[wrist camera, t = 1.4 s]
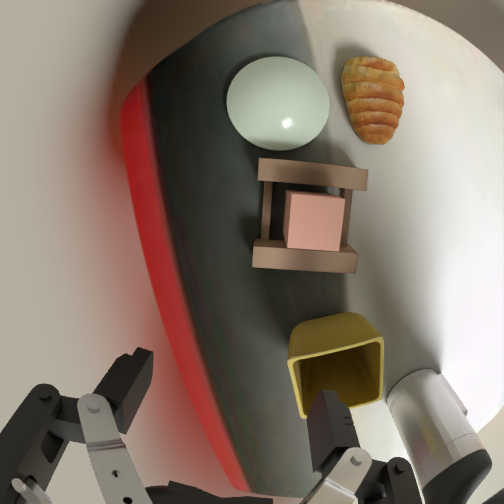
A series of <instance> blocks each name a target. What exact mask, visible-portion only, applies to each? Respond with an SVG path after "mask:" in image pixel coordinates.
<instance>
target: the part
mask: <svg viewBox="0 0 504 504" xmlns="http://www.w3.org/2000/svg"><path fill="white" fill-rule="evenodd" d="M344 206H345V199H343V198H341V197H338V196H335V195H332V194H329V193H320V192H309V191H298V190H287V189H286V198H285V211H284V223H283V235H284V239H285V242H286V245H287V248H297V249H311V250H325V251H339V247H340V240H341V232H342V224H343V215H344Z"/></svg>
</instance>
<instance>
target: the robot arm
mask: <svg viewBox="0 0 504 504" xmlns="http://www.w3.org/2000/svg"><path fill="white" fill-rule="evenodd" d="M152 371H153V352H152V351H149V350H146V349H143V348H140V347H138V348H137V349H136V350H135V352H134V353H133V355H132V356H131V355H128V354H126V353H125V354H124V355H122V356H120V357H118V358H117V359H116V360H115V362H114V363H113V365H112V367H110V369H109V370H108V372H107V373H106V374H105V376H104V377H103V379H102V380H101V382H100V383H99V384H98V386H97V388H96V389H95V390H94V392H93V393H92V394H86V395H84V396H82V397H81V398H71V397H66V396H61V395H60V394H59V391H58V390H57V389H56V388H55V387H54V386H52V385H49V384H39V385H37V386H35V387H34V388H33V389H32V390H31V391H30V393H29V394H28V396H27V397H26V398H25V399H24V401H23V402H22V403H21V405H20V406H19V408H18V409H17V410H16V412H15V413H14V415H13V416H12V417H11V419H10V420H9V422H8V423H7V424H6V426H5V427H4V429H3V430H2V432H1V433H0V504H52V502H51V500H50V498H49V497H48V496H47V494H45V491H46V488H47V486H48V484H49V482H50V480H51V477H52V475H53V473H54V471H55V469H56V467H57V465H58V463H59V461H60V459H61V457H62V455H63V453H64V451H65V449H66V446H67V445H68V443H69V441H73V442H79V443H84V444H87V450H88V454H89V457H90V460H91V464H92V467H93V470H94V473H95V476H96V478H97V481H98V484H99V487H100V489H101V492H102V495H103V497H104V499H105V502H106V504H273V499H271V498H259V497H249V496H247V497H246V496H245V497H231V498H221V497H217V496H215V495H212V494H210V493H208V492H205V491H203V490H201V489H198V488H196V487H192V486H188V485H184V484H180V483H177V482H173V481H169V484H168V486H164V485H162V486H150V487H145V488H144V486H143V484H142V482H141V480H140V478H139V475H138V473H137V471H136V469H135V467H134V464H133V462H132V460H131V458H130V455H129V453H128V450H127V448H126V446H125V444H124V442H122V439H121V437H120V434H119V432H120V433H123V434H126V433H127V431H128V429H129V427H130V425H131V423H132V421H133V419H134V417H135V415H136V412H137V410H138V408H139V406H140V404H141V402H142V400H143V398H144V396H145V394H146V392H147V390H148V388H149V386H150V383H151V379H152V373H153V372H152ZM387 405H388V408H389V410H390V413H391V415H392V417H393V419H394V422H395V424H396V427H397V429H398V431H399V434H400V436H401V439H402V441H403V444H404V446H405V448H406V451H407V453H408V456H409V458H410V461H411V464H412V466H413V469H414V471H415V474H416V477H417V479H418V482H419V485H420V487H421V490H422V493H423V496H424V499H425V504H466V503H467V501H468V499H469V498H470V496H471V495H472V493H473V492H474V491H475V489H476V488H477V487H478V485H479V484H480V483H481V482H482V481H483V480H484V478H485V477H486V476H487V475H488V473H489V471H490V470H491V467H492V461H491V458H490V456H489V454H488V453H487V451H486V450H485V448H484V446H483V444H482V443H481V441H480V439H479V438H478V436H477V434H476V433H475V431H474V430H473V428H472V426H471V425H470V423H469V421H468V420H467V418H466V415H467V409H466V408H465V406H464V405H463V403H462V402H461V400H460V399H459V397H458V396H457V394H456V393H455V392H454V390H453V389H452V387H451V386H450V384H449V383H448V382H447V380H446V379H445V377H444V376H443V375H442V374H437V373H436V372H435V371H434V370H431V369H421V370H418V371H415V372H413V373H411V374H409V375H407V376H406V377H404V378H403V379H402V380H400V381H399V382H398V383H397V384H396V385H395V386H394V388H393V389H392V390H391V392H390V393H389V395H388V398H387ZM353 424H354V423H353V420H352V416H351V413H350V410H349V408H348V407H347V406H346V404H345V403H344V402H339V399H338V395H337V392H336V391H330V390H320V391H319V392H318V394H317V396H316V398H315V400H314V401H313V403H312V405H311V407H310V408H309V411H308V414H307V427H308V434H309V442H310V450H311V458H312V467H313V473H321V474H322V478H321V479H320V480H319V481H318V482H317V484H316V485H315V486H314V487H313V489H312V490H311V491H310V492H309V493H308V494H307V496H306V497H305V498H304V499H303V500H302V501H301V502H300V504H352V503H353V501H354V500H355V497H357V498H358V504H422V500H421V497H420V493H419V490H418V486H417V483H416V479H415V476H414V473H413V470H412V466H411V464H410V463H409V462H408V461H407V460H406V459H404V458H401V457H395V458H392V459H391V460H390V461H389V462H388V463H386V462H382V461H377V460H373V459H372V458H371V456H370V454H369V453H368V452H367V451H365V450H364V449H362V448H360V444H359V441H358V437H357V434H356V430H355V427H354V425H353ZM482 504H504V488H503V489H502V490H500V491H499V492H497V493H496V494H495V495H493V496H492V497H491V498H489V499H488V500H487V501H485V502H484V503H482Z"/></svg>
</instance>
